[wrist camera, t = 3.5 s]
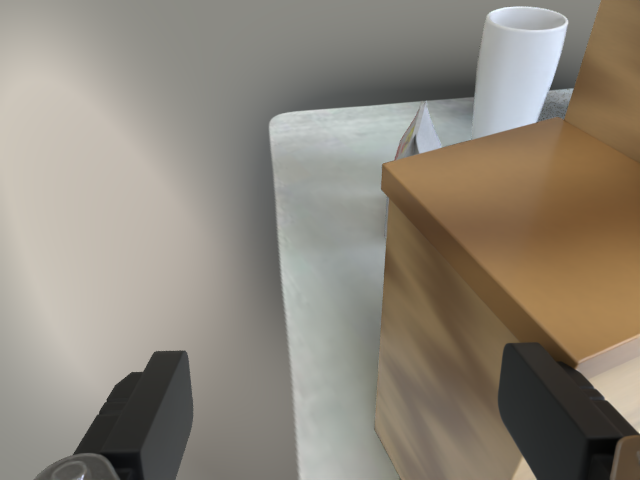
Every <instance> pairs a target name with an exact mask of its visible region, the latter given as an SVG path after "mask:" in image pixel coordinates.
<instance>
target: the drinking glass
mask: <svg viewBox="0 0 640 480" xmlns="http://www.w3.org/2000/svg"><path fill="white" fill-rule="evenodd" d="M567 26H568V19H567V18H566V17H565V16H564V15H562V14H560V13H558V12H555V11H552V10H548V9H543V8H536V7H506V8H501V9H497V10H494V11H492V12H490V13H489V14H488V15H487V17H486V21H485V26H484V30H483V34H482V39H481V44H480V50H479V56H478V64H477V73H476V85H475V97H474V109H473V121H472V133H471V140H473V139H476V138H480V137H484V136H487V135H491V134H495V133H499V132H502V131H506V130H510V129H514V128H517V127H521V126H525V125H529V124H532V123H536V122H537V120H538V118H539V115H540V112H541V110H542V107H543V104H544V102H545V99H546V96H547V94H548V91H549V88H550V86H551V83H552V80H553V77H554V75H555V72H556V69H557V65H558V62H559V59H560V55H561V52H562V47H563V44H564V40H565V35H566V31H567Z"/></svg>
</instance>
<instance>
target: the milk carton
mask: <svg viewBox="0 0 640 480" xmlns="http://www.w3.org/2000/svg"><path fill="white" fill-rule="evenodd" d="M439 148H441V143H440V140H439V138H438V136H437V133H436V131H435V128H434V126H433V123H432V121H431V118H430V115H429V112H428V109H427V102H425V103H424V104H423V102H421V105H420V108H419V110H418V112H417V114H416V116H415V118H414V120H413V121H412V123H411V124H410V126H409V128H408V129H407V131H406V132H405V134H404V135H403V137H402V139H401V140H400V143H399V146H398V150H397V153H396V156H395V160H398V159H402V158H405V157H409V156H413V155H416V154H420V153H424V152H428V151H431V150H435V149H439ZM388 205H389V198H388V197H387V205H386V222H385V237H387V221H388Z"/></svg>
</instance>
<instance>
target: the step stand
mask: <svg viewBox="0 0 640 480" xmlns="http://www.w3.org/2000/svg"><path fill="white" fill-rule="evenodd" d="M381 190H382V191H383V192H384V193H385V194H386V195H387V197H388V198H389V205H388V221H387V237H386V253H385V269H384V284H383V300H382V316H381V332H380V347H379V363H378V379H377V395H376V410H375V426H374V430H375V432H376V433H377V435H378V437H379V439H380V441H381V443H382V445H383V446H384V448H385V450H386V452H387V454H388V456H389V458H390V460H391V461H392V463H393V465H394V467H395V469H396V471H397V473H398V474H399V476H400V478H401V480H537V479H536V477H535V476H534V474H533V472H532V471H531V469H530V467H529V465H528V464H527V462H526V460H525V459H524V457H523V455H522V454H521V452H520V450H519V449H518V447H517V445H516V444H515V442H514V440H513V438H512V437H511V435H510V433H509V432H508V430H507V428H506V427H505V425H504V423H503V421H502V419H501V417H500V413H499V409H498V389H499V380H500V372H501V363H502V355H503V349H504V346H505V345H506V344H507V343H524V342H538V343H540V344H541V345H542V346H543V348H544V349H545V350H546V351H547V352H548V353H549V354H550V355H551V356H552V357H553V359H554V360H555V361H562V362H563V363H565V364H567V365H569V366H570V367H572V368H574V369H575V370H577V371H579V372H580V373H582V374H583V376H584V377H585V378H586V379H587V380H588V381H589V382H590V383H591V384H592V385H593V386H594V389H597V390H598V391H599V392H600V393H601V394H602V395H603V396H604V397H605V400H608V402H609V403H610V404H611V405H612V406H613V407H614V408H615V409H616V410H617V411H618V412H619V413H620V414H621V415H622V416H623V417H624V418H625V419H626V420H627V421H628V422H629V423H630V424H631V425H632V426H633V427H634V429H635V430H636V431H637V432H638V433H639V434H640V0H601V3H600V6H599V9H598V12H597V15H596V18H595V22H594V25H593V28H592V32H591V35H590V38H589V41H588V44H587V47H586V51H585V54H584V57H583V60H582V64H581V67H580V71H579V73H578V77H577V80H576V84H575V87H574V90H573V93H572V96H571V99H570V102H569V106H568V109H567V112H566V115H565V119H564V120H563V119H561V118H560V117H555V118H551V119H547V120H544V121H540V122H536V123H532V124H529V125H525V126H521V127H517V128H514V129H510V130H506V131H502V132H499V133H495V134H491V135H487V136H484V137H480V138H476V139H473V140H469V141H465V142H461V143H458V144H454V145H450V146H446V147H443V148H439V149H435V150H431V151H428V152H424V153H420V154H416V155H413V156H409V157H405V158H402V159H398V160H394V161H390V162H387V163H383V164H382V180H381Z"/></svg>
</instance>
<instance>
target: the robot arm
mask: <svg viewBox="0 0 640 480" xmlns="http://www.w3.org/2000/svg"><path fill="white" fill-rule="evenodd" d="M498 409H499V413H500V417H501V419H502V421H503V423H504V425H505V427H506V428H507V430H508V432H509V433H510V435H511V437H512V438H513V440H514V442H515V444H516V445H517V447H518V449H519V450H520V452H521V454H522V455H523V457H524V459H525V460H526V462H527V464H528V465H529V467H530V469H531V471H532V472H533V474H534V476H535V477H536V479H537V480H640V434H639V433H638V432H637V431H636V430H635V429H634V427H633V426H632V425H631V424H630V423H629V422H628V421H627V420H626V419H625V418H624V417H623V416H622V415H621V414H620V413H619V412H618V411H617V410H616V409H615V408H614V407H613V406H612V405H611V404H610V403H609V402H608V400H605V397H604V396H603V395H602V394H601V393H600V392H599V391H598V390H597V389H594V386H593V385H592V384H591V383H590V382H589V381H588V380H587V379H586V378H585V377H584V376H583V374H582V373H580V372H579V371H577V370H575V369H574V368H572V367H570V366H569V365H567V364H565V363H563V362H562V361H555V360H554V359H553V357H552V356H551V355H550V354H549V353H548V352H547V351H546V350H545V349H544V348H543V346H542V345H541V344H540V343H538V342H524V343H507V344H506V345H505V346H504V349H503V355H502V363H501V372H500V380H499V389H498ZM192 421H193V399H192V389H191V380H190V369H189V360H188V355H187V352H186V351H156V352H154V353H153V355H152V357H151V359H150V361H149V362H148V364H147V366H146V368H145V370H144V371H143V372H132V373H130V374H129V375H128V376H127V377H125V378H124V379H123V380H121V381H120V382H119V383H118V384H116V385H115V387H114V388H113V390H112V392H111V393H110V395H109V397H108V398H107V402H105V403H104V405H103V407H102V408H101V410H100V412H99V415H97V416H96V418H95V419H94V421H93V423H92V424H91V426H90V428H89V429H88V431H87V433H86V434H85V436H84V438H83V439H82V441H81V442H80V444H79V446H78V447H77V449H76V451H75V452H74V454H73V455H72V456H69V457H66V458H63V459H61V460H59V461H57V462H55V463H53V464H51V465H50V466H48V467H47V468H45V469H44V470H43V471H42V472H41V473H39V474H38V475H37V477H36V478H35V479H34V480H175V479H176V476H177V473H178V469H179V466H180V463H181V460H182V457H183V453H184V451H185V448H186V444H187V441H188V438H189V435H190V432H191V427H192Z"/></svg>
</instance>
